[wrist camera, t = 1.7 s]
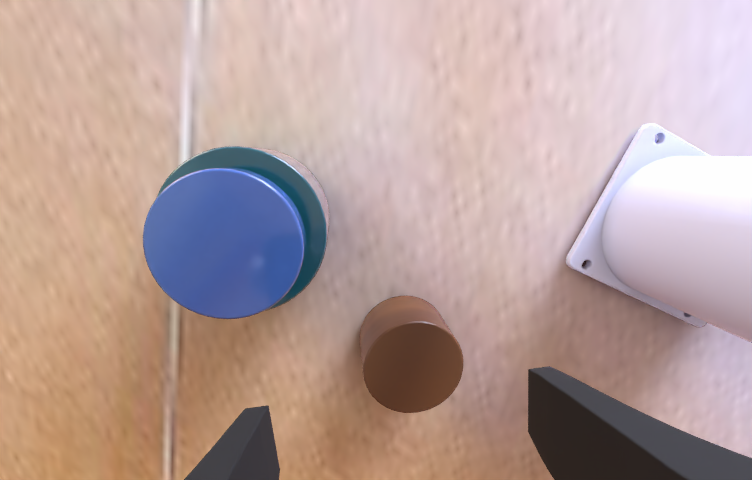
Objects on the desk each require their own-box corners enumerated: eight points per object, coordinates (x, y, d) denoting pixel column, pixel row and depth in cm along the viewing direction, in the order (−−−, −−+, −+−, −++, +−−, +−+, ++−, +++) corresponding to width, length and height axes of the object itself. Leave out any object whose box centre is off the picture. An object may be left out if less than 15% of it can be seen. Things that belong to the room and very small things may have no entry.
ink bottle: (350, 183, 18) (356, 197, 12) (298, 299, 19) (281, 364, 13) (220, 123, 17) (156, 107, 11) (172, 250, 18) (90, 298, 12)
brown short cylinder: (459, 314, 20) (481, 343, 17) (421, 385, 21) (436, 426, 18) (381, 282, 19) (390, 306, 16) (345, 357, 20) (346, 395, 17)
